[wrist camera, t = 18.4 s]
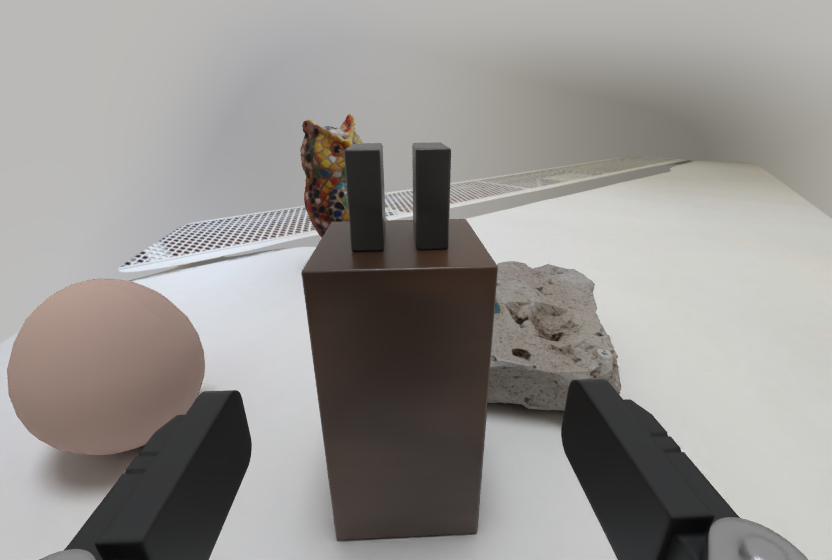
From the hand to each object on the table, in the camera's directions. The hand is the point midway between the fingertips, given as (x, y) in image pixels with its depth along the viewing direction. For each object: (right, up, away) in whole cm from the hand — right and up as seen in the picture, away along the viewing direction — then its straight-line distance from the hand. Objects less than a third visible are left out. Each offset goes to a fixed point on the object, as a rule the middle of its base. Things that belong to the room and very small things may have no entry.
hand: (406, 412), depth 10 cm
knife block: (0, -6, +8) cm, 10 cm away
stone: (+8, -2, +16) cm, 18 cm away
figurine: (-6, +5, +32) cm, 33 cm away
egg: (-14, -5, +10) cm, 18 cm away
